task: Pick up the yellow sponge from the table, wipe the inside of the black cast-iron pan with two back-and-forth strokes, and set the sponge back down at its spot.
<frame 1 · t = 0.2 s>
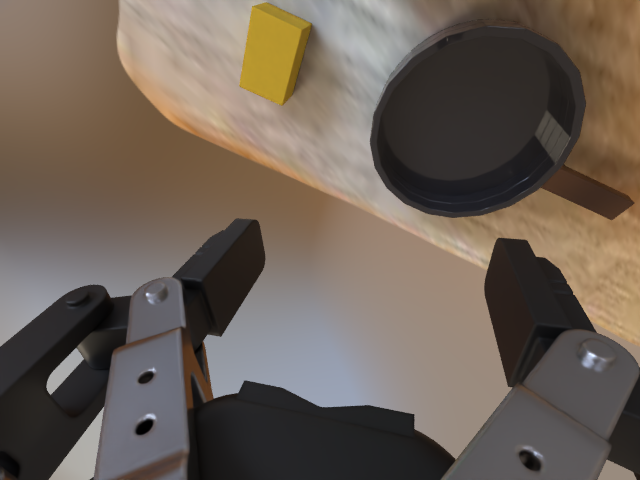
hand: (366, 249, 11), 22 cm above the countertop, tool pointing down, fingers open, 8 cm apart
sponge: (280, 52, 28), on the countertop
pan: (462, 123, 28), on the countertop
pan handle: (572, 174, 29), on the countertop
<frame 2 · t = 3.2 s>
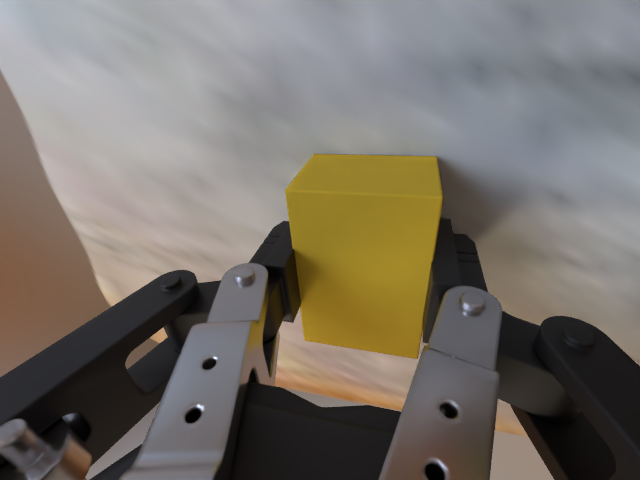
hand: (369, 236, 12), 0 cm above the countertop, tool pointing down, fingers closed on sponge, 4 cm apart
sponge: (370, 232, 12), on the countertop, touching gripper
when the fingers open (0 cm above the countertop, at t = 20.0 s): sponge stays where it is, on the countertop.
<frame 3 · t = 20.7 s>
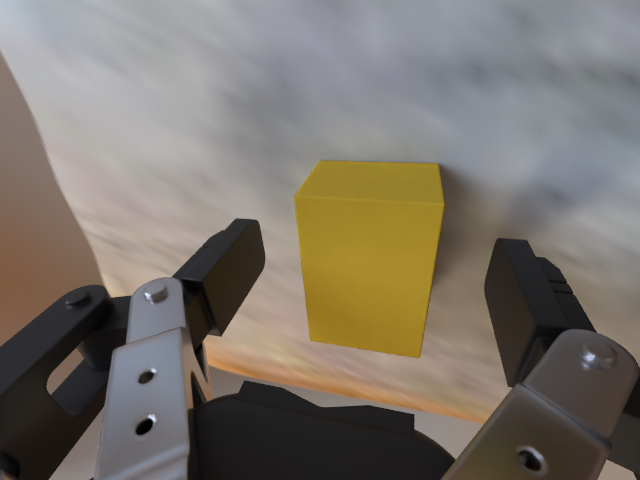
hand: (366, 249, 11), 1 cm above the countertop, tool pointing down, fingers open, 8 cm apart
sponge: (373, 236, 13), on the countertop
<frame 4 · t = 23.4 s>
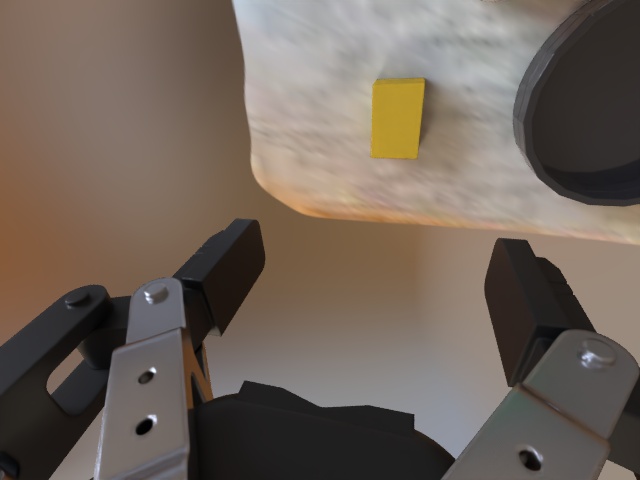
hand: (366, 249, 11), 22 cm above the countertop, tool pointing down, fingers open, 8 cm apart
sponge: (397, 115, 29), on the countertop
pan: (626, 95, 25), on the countertop
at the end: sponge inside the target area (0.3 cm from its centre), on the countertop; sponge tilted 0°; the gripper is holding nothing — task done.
